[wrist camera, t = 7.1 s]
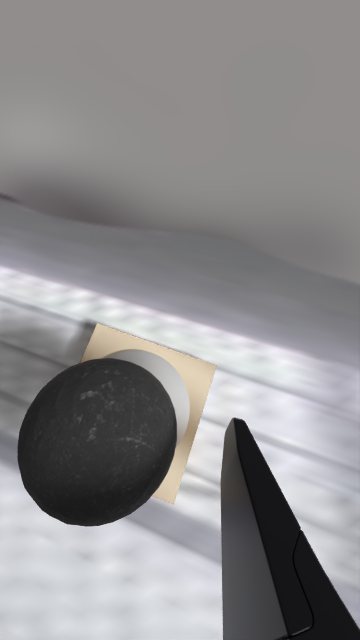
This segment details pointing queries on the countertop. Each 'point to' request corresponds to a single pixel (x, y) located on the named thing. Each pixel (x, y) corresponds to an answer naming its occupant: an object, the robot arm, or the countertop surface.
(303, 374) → the countertop surface
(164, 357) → the plinth
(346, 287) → the countertop surface
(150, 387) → the light bulb
